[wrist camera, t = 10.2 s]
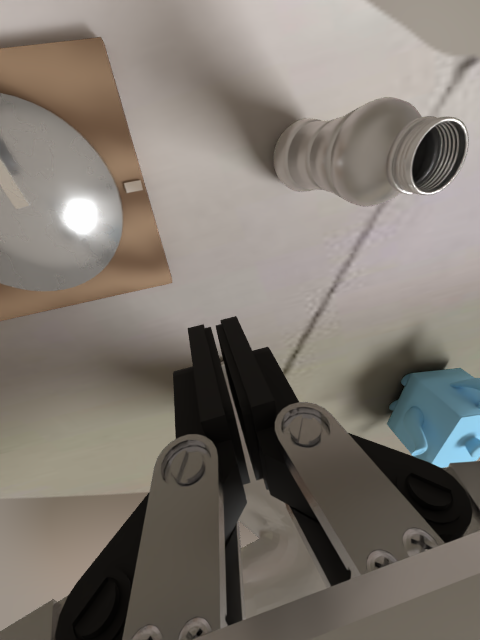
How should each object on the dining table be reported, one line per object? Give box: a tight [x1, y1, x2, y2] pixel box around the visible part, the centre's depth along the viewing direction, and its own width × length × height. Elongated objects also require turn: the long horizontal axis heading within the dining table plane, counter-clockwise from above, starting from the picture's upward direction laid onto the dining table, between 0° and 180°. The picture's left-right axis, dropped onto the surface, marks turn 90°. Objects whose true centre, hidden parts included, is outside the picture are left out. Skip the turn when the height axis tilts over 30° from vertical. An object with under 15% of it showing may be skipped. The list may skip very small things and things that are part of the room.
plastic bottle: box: [274, 97, 469, 207], centre depth 24 cm, size 6×7×20 cm
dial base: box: [0, 37, 172, 321], centre depth 28 cm, size 22×22×2 cm
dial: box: [0, 93, 123, 291], centre depth 25 cm, size 17×17×6 cm
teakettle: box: [387, 368, 480, 468], centre depth 54 cm, size 19×19×15 cm
